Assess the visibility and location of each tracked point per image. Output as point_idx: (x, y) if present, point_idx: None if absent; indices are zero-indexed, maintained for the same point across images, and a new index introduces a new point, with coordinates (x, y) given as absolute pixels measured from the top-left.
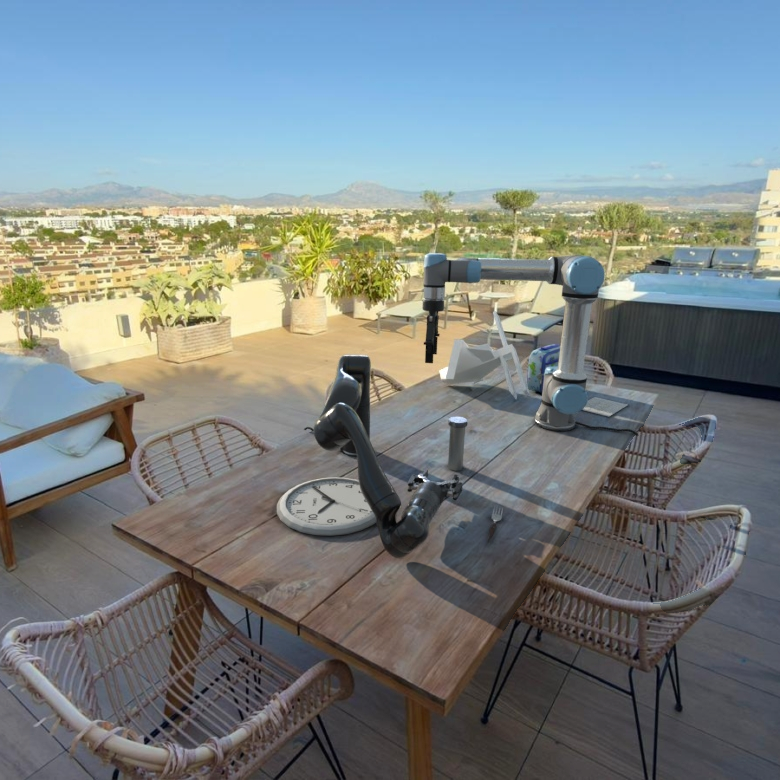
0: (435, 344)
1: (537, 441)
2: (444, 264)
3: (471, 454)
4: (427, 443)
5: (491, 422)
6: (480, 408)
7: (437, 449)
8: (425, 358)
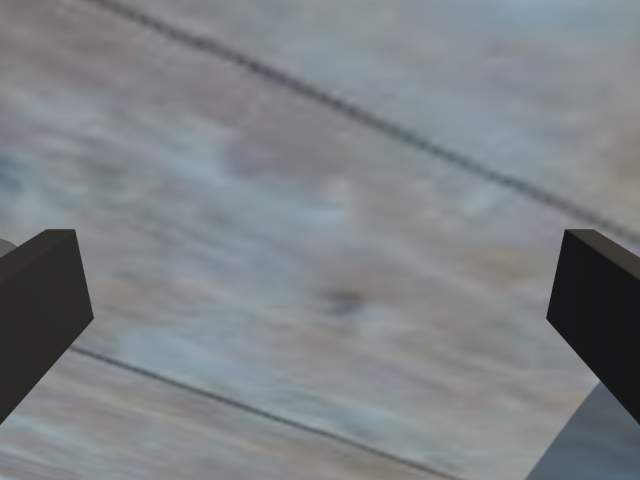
0: (636, 393)
1: (303, 477)
2: None
3: (131, 304)
4: (174, 145)
5: (453, 361)
6: None
7: (129, 189)
8: (6, 257)
